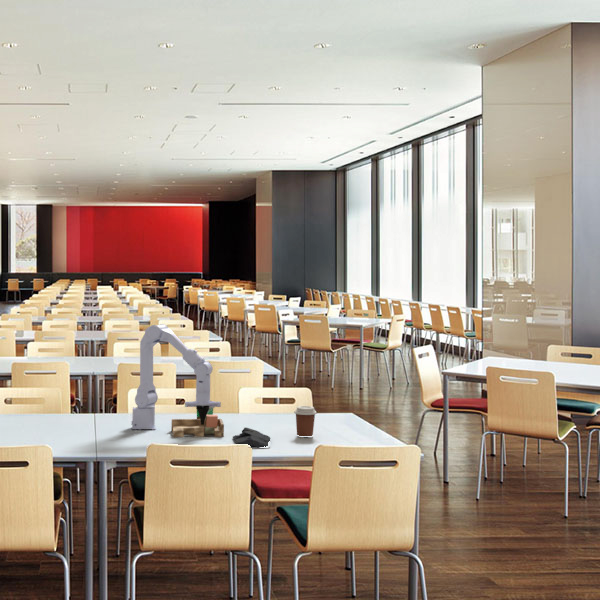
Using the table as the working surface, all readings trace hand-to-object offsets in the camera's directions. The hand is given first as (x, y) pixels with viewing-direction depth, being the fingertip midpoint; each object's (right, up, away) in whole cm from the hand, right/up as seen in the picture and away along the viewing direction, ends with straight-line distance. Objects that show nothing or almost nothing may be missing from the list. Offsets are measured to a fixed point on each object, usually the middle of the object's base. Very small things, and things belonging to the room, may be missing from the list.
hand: (202, 424), depth 344 cm
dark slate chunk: (+21, -5, -19) cm, 29 cm away
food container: (0, -3, +17) cm, 17 cm away
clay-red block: (+4, -1, +1) cm, 4 cm away
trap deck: (-2, -4, -4) cm, 5 cm away
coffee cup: (+42, -5, -3) cm, 42 cm away
